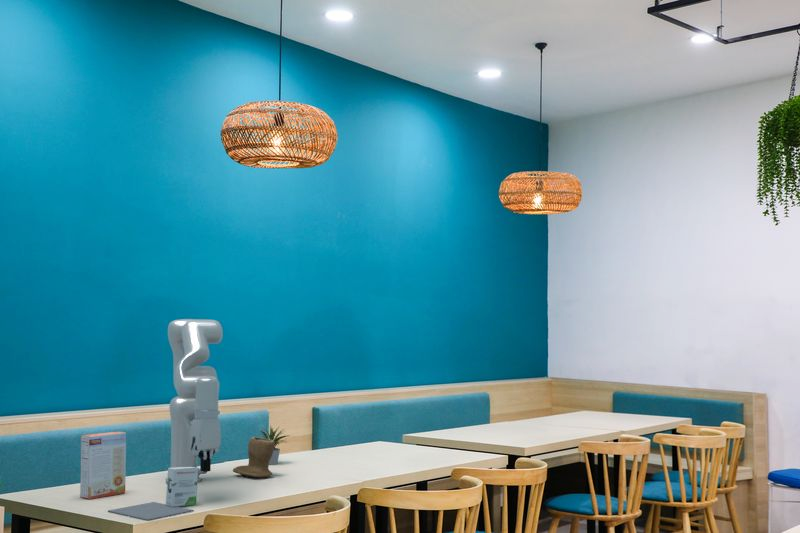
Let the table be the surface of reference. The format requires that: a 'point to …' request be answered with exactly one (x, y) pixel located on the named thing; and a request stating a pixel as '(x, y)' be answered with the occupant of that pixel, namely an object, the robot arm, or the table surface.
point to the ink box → (181, 486)
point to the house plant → (276, 450)
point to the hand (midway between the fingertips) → (205, 471)
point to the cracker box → (103, 464)
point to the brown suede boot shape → (257, 458)
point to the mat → (150, 511)
